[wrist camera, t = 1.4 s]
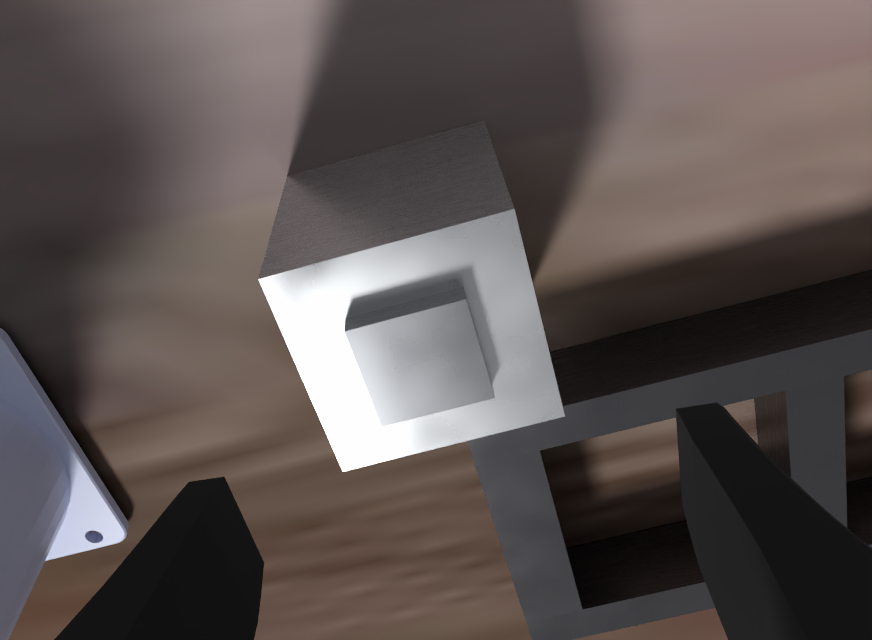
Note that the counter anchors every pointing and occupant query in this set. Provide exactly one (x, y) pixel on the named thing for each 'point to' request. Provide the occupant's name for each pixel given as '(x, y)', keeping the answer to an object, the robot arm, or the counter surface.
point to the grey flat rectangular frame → (656, 401)
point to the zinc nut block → (409, 298)
